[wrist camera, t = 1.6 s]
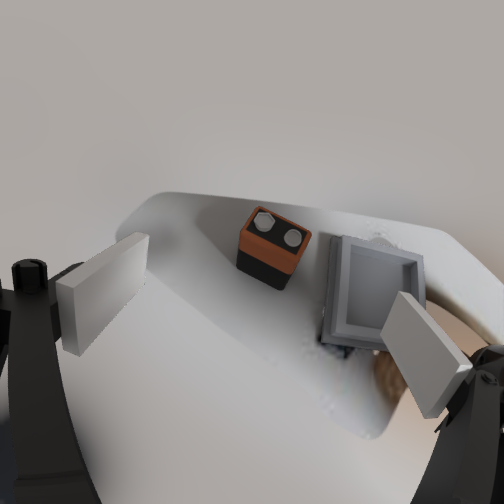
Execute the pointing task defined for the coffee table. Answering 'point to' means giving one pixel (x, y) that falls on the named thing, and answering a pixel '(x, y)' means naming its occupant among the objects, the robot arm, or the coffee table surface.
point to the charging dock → (366, 290)
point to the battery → (271, 247)
